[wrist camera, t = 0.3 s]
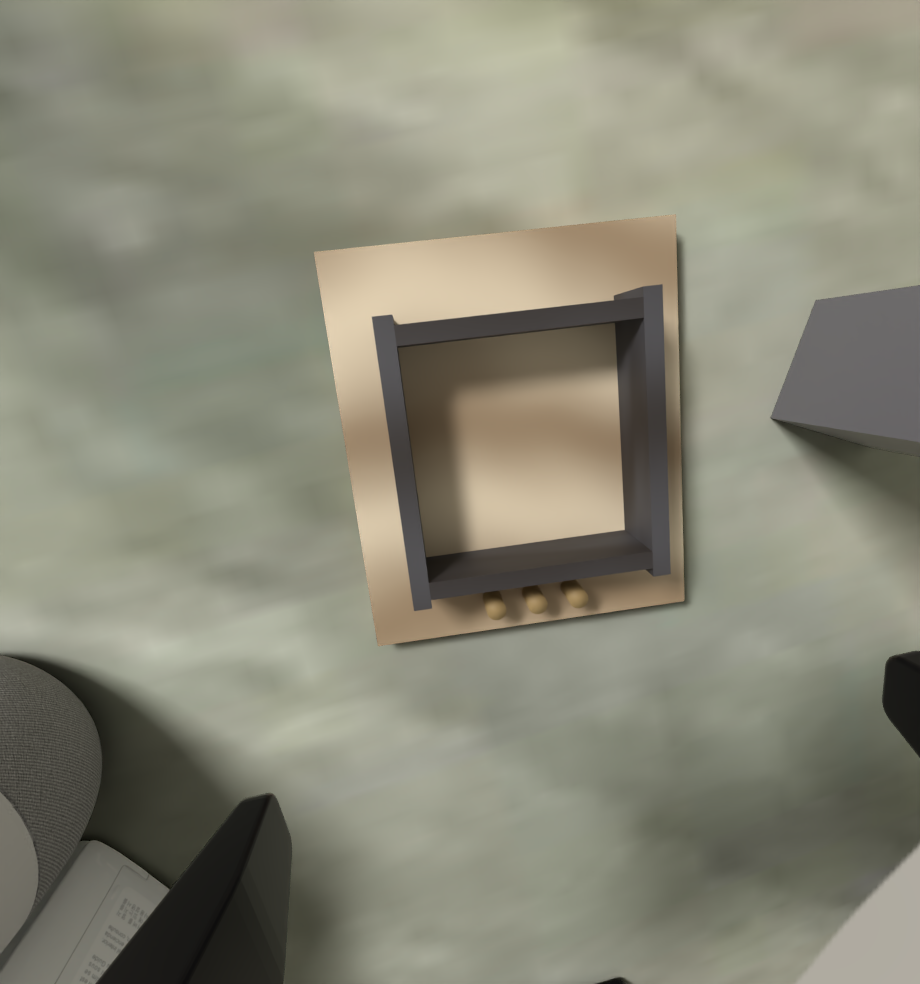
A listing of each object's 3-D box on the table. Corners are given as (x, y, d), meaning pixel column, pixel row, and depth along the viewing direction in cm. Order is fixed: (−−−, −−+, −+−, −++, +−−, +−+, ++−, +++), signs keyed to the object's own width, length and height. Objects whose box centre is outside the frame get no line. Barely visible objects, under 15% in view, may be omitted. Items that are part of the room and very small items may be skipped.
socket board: (672, 591, 23) (718, 630, 20) (379, 634, 23) (374, 682, 19) (662, 221, 20) (715, 192, 17) (318, 257, 19) (299, 235, 16)
